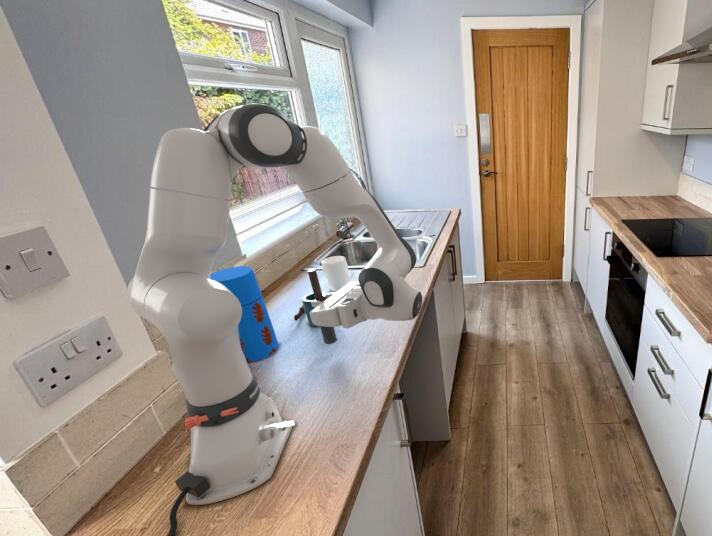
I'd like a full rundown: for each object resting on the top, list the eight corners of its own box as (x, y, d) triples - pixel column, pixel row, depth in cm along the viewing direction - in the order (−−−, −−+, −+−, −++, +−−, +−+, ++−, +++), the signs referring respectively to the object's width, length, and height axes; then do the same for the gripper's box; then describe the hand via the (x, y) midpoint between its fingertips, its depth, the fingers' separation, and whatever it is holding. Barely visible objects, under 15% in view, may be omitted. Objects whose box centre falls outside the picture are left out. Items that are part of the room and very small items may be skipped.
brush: (337, 342, 115) (318, 271, 105) (324, 345, 113) (304, 273, 104) (337, 337, 117) (318, 266, 108) (324, 339, 116) (305, 269, 107)
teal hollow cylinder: (334, 323, 132) (327, 298, 129) (308, 328, 130) (301, 303, 126) (334, 312, 139) (328, 289, 135) (309, 317, 137) (302, 294, 133)
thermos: (260, 363, 113) (229, 282, 102) (228, 360, 115) (195, 280, 105) (287, 342, 123) (261, 266, 112) (257, 340, 125) (229, 265, 114)
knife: (308, 300, 149) (306, 293, 148) (313, 299, 149) (311, 292, 148) (294, 324, 133) (291, 316, 132) (299, 324, 133) (296, 316, 132)
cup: (343, 282, 163) (337, 254, 158) (357, 286, 158) (350, 258, 153) (323, 290, 157) (315, 261, 152) (336, 295, 152) (329, 265, 147)
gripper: (379, 276, 116) (335, 275, 118) (339, 309, 97) (288, 307, 100) (383, 296, 118) (340, 294, 121) (344, 332, 100) (295, 329, 103)
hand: (316, 300), depth 110 cm, fingers closed on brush, 2 cm apart
